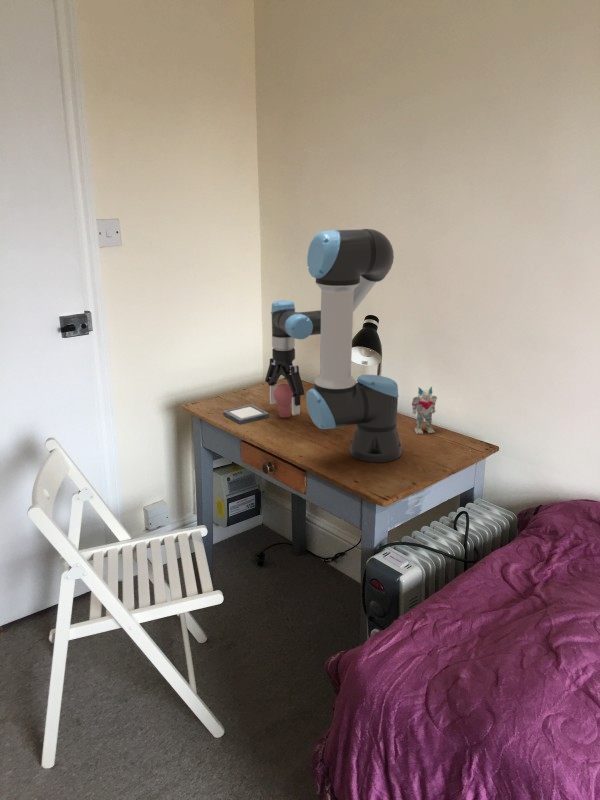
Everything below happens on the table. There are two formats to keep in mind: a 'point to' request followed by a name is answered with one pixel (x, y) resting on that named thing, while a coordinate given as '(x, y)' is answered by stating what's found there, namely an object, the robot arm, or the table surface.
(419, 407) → the figurine
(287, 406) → the light bulb
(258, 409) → the holder
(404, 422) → the table surface
